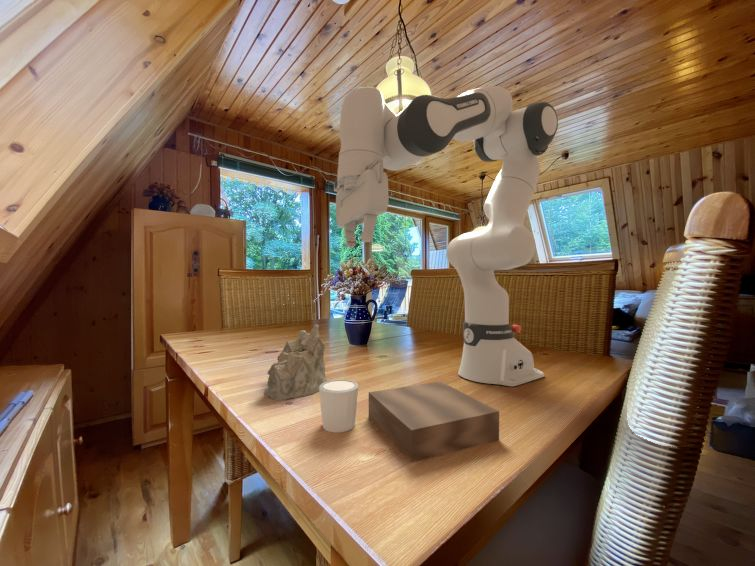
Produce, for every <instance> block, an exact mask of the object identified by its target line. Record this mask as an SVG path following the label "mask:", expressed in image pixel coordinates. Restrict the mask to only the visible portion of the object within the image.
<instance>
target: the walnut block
mask: <svg viewBox="0 0 755 566" xmlns="http://www.w3.org/2000/svg"><path fill="white" fill-rule="evenodd" d="M368 418H369V419H370V420H371V421H372V422H373V423H374V425H375V426H377V428H379V430H380V431H381V432H382V434H384V435H385V437H386V438H387V439H389V441H390V442H391V443H393V445H394V446H395V447H396V448H397V449H398V450H399V451H400V453H401V454H402V455H403V456H405V458H406V459H407V460H408V461H409V462H410V463H415V462H419V461H424V460H428V459H431V458H436V457H439V456H442V455H446V454H450V453H455V452H458V451H462V450H465V449H471V448H473V447H477V446H481V445H486V444H489V443H493V442H496V441H497V442H498V441H499V440H500V411H499V410H498V409H495V408H493V407H491V406H490V405H488V404H486V403H484V402H482V401H480V400H478V399H476V398H474V397H473V396H470V395H468V394H466V393H464V392H462V391H460V390H459V389H456V388H454V387H452V386H451V385H448V384H446V383H444V382H443V381H435V382H428V383H423V384H415V385H408V386H402V387H395V388H390V389H389V388H388V389H382V390H375V391H368Z"/></svg>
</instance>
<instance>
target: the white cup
mask: <svg viewBox="0 0 755 566" xmlns="http://www.w3.org/2000/svg"><path fill="white" fill-rule="evenodd" d="M318 392H319V399H320V400H319V402H320V411H321V423H322V424H321V425H322V428H323V430H324V431H327V432H329V433H330V432H331V433H345V432H348V431H350V430H352V429H353V428H354V427H355V425H356V424H355V423H356V415H357V413H356V412H357V405H358V404H357V403H358V393H359V383H358V382H356V381H354V380H349V379H334V380H333V379H332V380H327V382H324V383H322V384H321V385H320V386H319V391H318Z"/></svg>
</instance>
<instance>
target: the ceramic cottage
mask: <svg viewBox="0 0 755 566" xmlns="http://www.w3.org/2000/svg"><path fill="white" fill-rule="evenodd" d="M319 327H320V325H318V324H314V325H313V328H311V331H310V333H309V332H307V331H306V330H303V329H302V330H300V331H299V332H298V336H297V337H298V339H296V340H290V341H286V343H285V345H284V347H283V350H282V351H281V353H280V354H278V356H277V362H273V364H271V365H270V368H269V369H268V370H267V375H269V376H268V377H267V387H266V388H265V389H264V392H263V395H264V396H265V395H266V396H265V397H267V398H271V399H273V400H275V401H287V400H289V399H297V398H300V397H305V396H307V397H308V396H310V395H314V394H315V393H318V392H320V391H319V386H320V385H321V384H322V383H324V382H327V381H328V379H327V376H326V362H325V360H324V357H325V356H324V354H325V353H324V352H325V349H326V346H325V344H324V343H323V341H322V339H321V335H320V331H319Z"/></svg>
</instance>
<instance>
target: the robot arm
mask: <svg viewBox="0 0 755 566" xmlns="http://www.w3.org/2000/svg"><path fill="white" fill-rule="evenodd" d="M513 106H514V101H513V97H512V95H511V93H510V91H509V90H508V89H506V88H505V87H503V86H499V85H489V86H487V85H486V86H481V87H477V88H473V89H470V90H467V91H466V92H465V91H464V92H463V93H461V94H460V95H458V96H455V97H454V96H453V97H451V98H443V97H439V96H436V95H431V94H422V95H418V96H416V97H414V98H413V99H412V100H411V101H410V102H409V103H408V104H407V105H406V106H405V108H404V109H402V110H401V111H400V112H399V113H398V114H396V113H394V111H392V110H391V108H390V107H389V106H388V104H387V103H386V101H385V99H384V95H383V93H382V92H381V90H380V89H379V88H377V87H373V86H367V85H365V86H360V87H358V88H354V89H353V90H351V91H350V92H349V93H348V94H347V95H346V96H345V97H344V98H343V103H342V106H341V112H340V119H339V134H338V135H339V140H340V150H339V152H338V162H337V164H338V166H337V174H336V178H335V180H334V182H333V192H336V195H335V214H336V215H335V219H336V224H337V227H338V228H340V229H341V228H342V229H343V233H344V238H345V246H346V247H347V248H354V247H356V246H357V245H356V244H357V238H356V236H355V231H356V227H358V226H360V225H362V224H363V227H362V228H363V229H362V231H361V232H360V233H361V235H360V236H361V237H360V239H361V240H360V242H362V243H372V242H373V241H374V232H375V227H376V225H377V222H378V220H377V219H378V217H379V216H381V215H383V214H385V213H386V212H387V210H388V208H389V181H388V174H387V173H386V172H385V171H384V170H388V171H391V172H399V171H401V170H404V169H406V168H407V167H410V166H411V165H414V164H416V163H417V162H420V161H421V160H423V159H425V158H427V157H429V156H431V155H434V154H437V153H439V152H441V151H443V150H445V148H447V146H448V145H449V144H450V142H451V141H452V140H454V141H456V142H458V143H467V142H468V143H469V142H473V148H474V152H475V154H476V156H478V158H479V159H480V160H481V161H482V162H486V163H487V162H488V163H490V162H491V163H492V162H498V161H499V160H502V165H501V169H500V170H499V172H498V173H497V175H496V177H495V179H494V181H493V183H492V186H491V188H490V190H489V192H488V194H487V197H486V199H485V202H484V203H483V212H484V214H485V217H486V218H487V220H488V223H487V225H486V226H485V227H484V228H483V229H479V230H478V229H477V230H473V231H469V232H468V231H467V232H465V233H462V234H460V235H457V236H456V237H454V238H453V239H452V240H450V242H449V243H448V245H447V249H446V256H447V260H448V262H449V263H450V265H451V266H452V267H453V268H454V270H456V272H457V274H458V277H459V279H460V281H461V286H462V289H463V295H464V296H463V297H464V299H463V300H464V321H463V322H462V335H463V336H462V337H463V347H462V354H461V360H460V364H459V365H460V366H459V369H458V371H457V373H458V375H459V376H460V377H462V378H463V379H466V380H469V381H472V382H475V383H481V384H489V385H491V384H493V385H502V386H507V387H516V386H520V385H522V384H526V383H530V382H531V381H534V380H539V379H542V378H543V377H545V373H544V372H543V371H541V370H540V369H538V368H535V365H534V355H533V354H532V352H531V350H529V349H528V348H527V347H525V346H524V345H523V344H522V343H521V342H520V341H518V340H517V339H516V338H515V335H514V333H518V334H519V333H521V331H522V326H521V325H519V324H512V325H511V324H510V323H509V322H510V321H509V320H510V318H509V317H510V313H509V312H510V311H509V310H510V296H509V294H508V292H507V290H506V289H505V288H503V287H502V285H500V284H499V283H498V281H497V279H496V276H495V271H501V270H502V271H505V270H506V271H508V270H512V269H516V268H519V267H522V266H525V265H527V264H529V263H530V262H531V260H532V259H533V257H534V256H535V255H534V254H535V252H536V240H535V237H534V235H533V233H532V231H531V230H529V229H528V228H527V227H526V225H525V220H526V214H527V212H528V209H529V206H530V204H531V201H532V200H533V196H534V194H535V191H536V189H537V186H538V181H539V177H540V171H541V163H540V161H539V159H538V157H539V156H542V155H544V153H545V152H546V151H547V150H548V148H549V145H550V144H551V143H552V142H553V139H554V138H555V135H556V133H557V130H558V127H559V118H558V116H557V115H558V114H557V111H556V109H555V108H554V107H553V106H552V105H551V104H550V103H549V102H546V101H539V102H533V103H531V104H529V105H528V106H524V107H521V108H518V109H515V110H513Z"/></svg>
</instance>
